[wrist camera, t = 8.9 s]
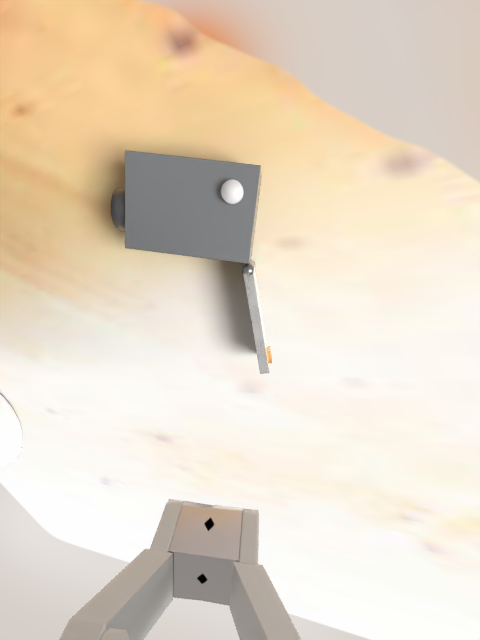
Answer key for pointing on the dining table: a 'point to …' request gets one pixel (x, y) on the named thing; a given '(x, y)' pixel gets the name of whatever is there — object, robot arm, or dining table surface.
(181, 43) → the dining table surface
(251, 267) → the side door
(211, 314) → the dining table surface
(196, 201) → the camera body
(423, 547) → the dining table surface
